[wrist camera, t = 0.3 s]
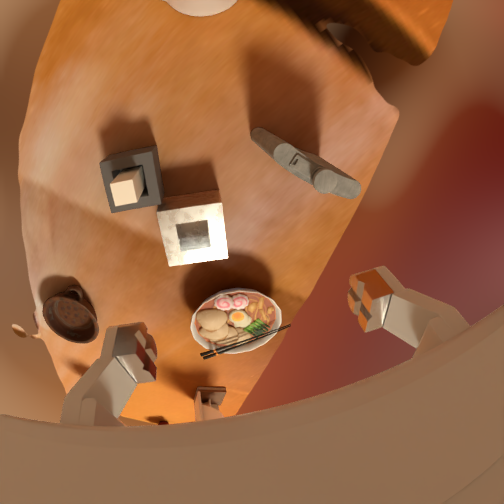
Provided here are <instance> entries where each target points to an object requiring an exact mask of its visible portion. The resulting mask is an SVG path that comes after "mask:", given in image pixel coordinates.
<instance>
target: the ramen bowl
mask: <svg viewBox="0 0 504 504" xmlns="http://www.w3.org/2000/svg"><path fill="white" fill-rule="evenodd" d="M281 323H282V320H281V310H280V308H279V307H278V306H277V304H276V303H275V302H274V300H273V299H271V298H270V297H268V296H266V295H264V294H262V293H260V292H258V291H256V290H253V289H246V288H232V289H226V290H221V291H219V292H218V293H216V294H214V295H212V296H210V297H209V298H207V299H206V300H205V301H204V302H203V303H202V304H201V305H200V307H199V308H198V309H197V310H196V311H195V313H194V314H193V316H192V321H191V326H190V329H191V332H192V334H193V337H194V339H195V340H196V341H197V342H198V343H199V344H201V345H202V346H203V347H204V348H206V349H209V350H210V351H207V352H203V353H200V355H201V356H204V355H207V354H210V353H213V354H210V355H207V356H204V357H203V359H204V360H205V359H208V358H211V357H213V356H216V355H219V354H222V353H231V354H236V353H241V352H246V351H251V350H253V349H255V348H257V347H259V346H261V345H263V344H265V343H266V342H268V341H269V340H270V339H271V338H272V337H273V336H274V335H275V334H276V333H277V332H278V331H280V330H283V329H285V328H287V327H286V326H288V327H290V326H289V325H291V324H289V325H286V326H284V327H285V328H283V327H281V328H283V329H281V328H279V327H280V325H281ZM278 329H280V330H278ZM214 352H217V353H214Z"/></svg>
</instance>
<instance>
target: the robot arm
mask: <svg viewBox="0 0 504 504" xmlns="http://www.w3.org/2000/svg"><path fill="white" fill-rule="evenodd" d="M164 1H166V2H167V3H168V4H169V5H170V6H172V7H173V8H174V9H175V10H177V11H179V12H181V13H183V14H187V15H191V16H209V15H214V14H217V13H220V12H223V11H225V10H226V9H228V8H230V7H231V6H232V5H234V4H235V3H236V2H237V0H164ZM349 284H350V285H351V288H350V290H349V291H348V303H349V306H350V308H351V310H352V312H353V313H354V314H356V315H358V316H359V318H358V322H359V324H360V325H361V327H362V328H363V330H364V332H365V333H366V332H369V331H372V330H374V329H377V328H380V327H383V328H384V329H386V330H388V331H389V332H391V333H392V334H394V335H396V336H397V337H399V338H400V339H402V340H404V341H405V342H407V343H409V344H410V345H412V346H413V347H415V348H416V351H415V353H414V355H413V357H412V359H410V360H408V361H406V362H404V363H402V364H399V365H397V366H395V367H393V368H391V369H388V370H386V371H384V372H381V373H379V374H376V375H374V376H371V377H369V378H366V379H364V380H361V381H359V382H356V383H353V384H350V385H348V386H345V387H342V388H339V389H336V390H333V391H330V392H327V393H324V394H321V395H317V396H314V397H311V398H308V399H304V400H300V401H297V402H294V403H290V404H286V405H282V406H278V407H274V408H269V409H265V410H261V411H256V412H252V413H246V414H241V415H236V416H230V417H224V418H218V419H211V420H204V421H196V422H188V423H178V424H167V425H153V426H152V425H151V426H126V425H125V424H124V423H122V422H121V421H120V420H119V419H118V417H119V415H120V414H121V412H122V410H123V408H124V407H125V405H126V403H127V401H128V400H129V398H130V396H131V394H132V393H133V391H134V389H135V388H136V386H137V384H138V383H145V382H153V381H156V369H157V367H156V366H155V364H154V361H155V360H156V359H157V348H156V344H155V341H154V339H153V337H152V336H151V335H150V334H148V333H147V327H146V325H145V323H144V322H137V323H130V324H123V325H118V326H109V327H108V328H107V330H106V334H105V339H104V343H103V347H102V352H101V356H100V359H97V360H96V361H95V362H94V363H93V364H92V365H91V367H90V368H89V369H88V370H87V371H86V372H85V374H84V375H83V376H82V377H81V378H80V379H79V381H78V382H77V383H76V384H75V385H74V387H73V388H72V389H71V390H70V391H69V393H68V394H67V395H66V396H65V399H64V404H63V409H62V414H61V420H60V423H51V422H44V421H37V420H31V419H25V418H19V417H14V416H10V415H4V414H2V415H0V504H504V305H502V306H501V307H499V308H498V309H497V310H495V311H494V312H492V313H491V314H489V315H488V316H486V317H485V318H483V319H482V320H480V321H479V322H477V323H476V324H474V325H472V326H471V327H470V325H469V324H468V323H467V322H466V321H465V319H464V318H463V317H462V316H461V314H460V313H459V312H458V311H457V310H456V309H455V308H454V307H453V306H450V305H448V304H445V303H443V302H441V301H438V300H436V299H433V298H431V297H429V296H426V295H424V294H421V293H419V292H416V291H413V290H411V289H409V288H408V289H405V288H404V287H403V286H402V285H401V283H400V282H399V281H398V280H397V279H396V278H395V277H394V275H393V274H392V273H391V272H390V271H389V270H388V269H387V268H386V267H385V266H380V267H377V268H374V269H371V270H367V271H364V272H360V273H357V274H353V275H351V277H350V280H349Z"/></svg>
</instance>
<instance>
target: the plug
mask: <svg viewBox="0 0 504 504" xmlns="http://www.w3.org/2000/svg"><path fill="white" fill-rule="evenodd" d="M145 186H146V185H145V180H144V174H143V169H142V166H139V167H134V168H129V169H124V170H122V171H121V172H120V173H119V174H118V175H117V176H116V178H115V179H114V180H113V181H112V182H111V183H110V187H111V191H112V195H113V199H114V203H115V206H120V205H125V204H131V203H136V202H138V200H139V198H140V196H141V194H142V192H143V190H144V188H145Z"/></svg>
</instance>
